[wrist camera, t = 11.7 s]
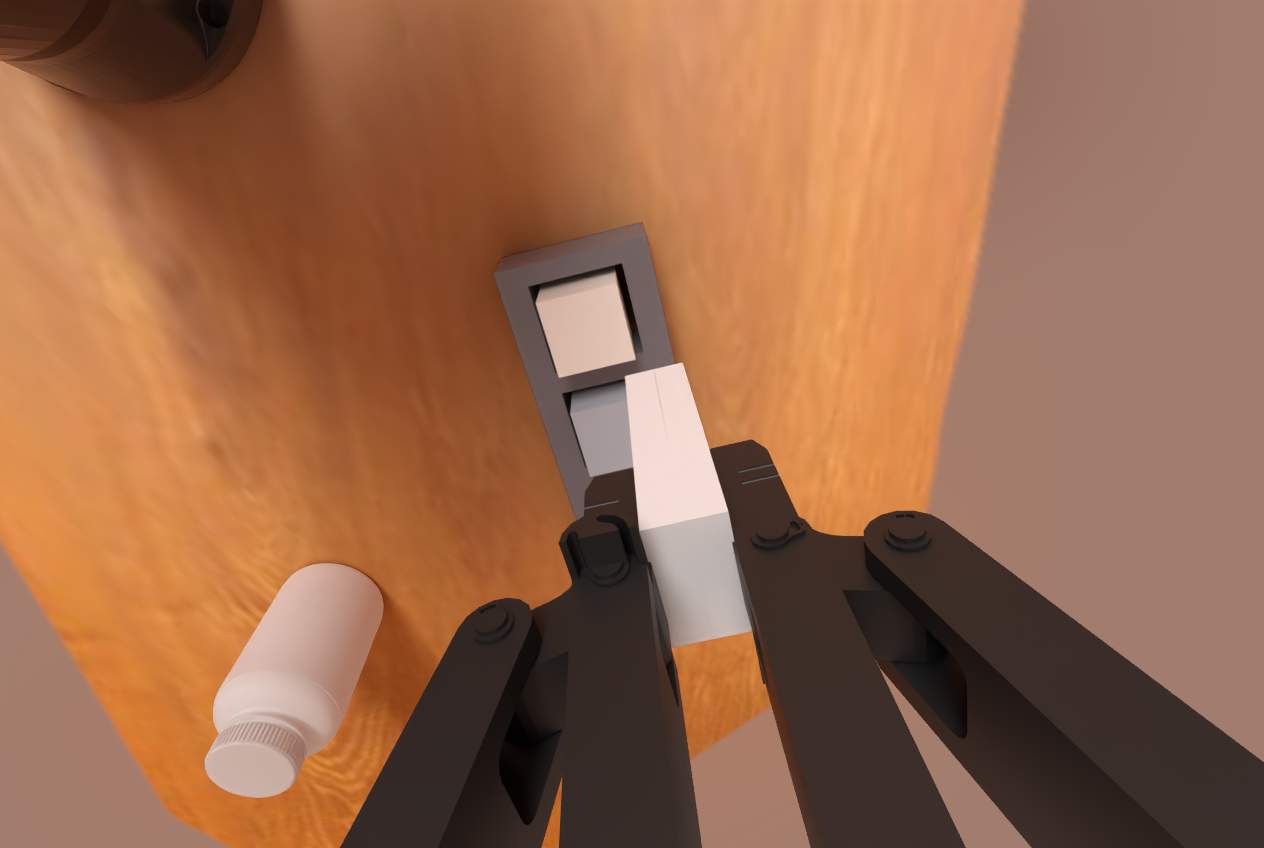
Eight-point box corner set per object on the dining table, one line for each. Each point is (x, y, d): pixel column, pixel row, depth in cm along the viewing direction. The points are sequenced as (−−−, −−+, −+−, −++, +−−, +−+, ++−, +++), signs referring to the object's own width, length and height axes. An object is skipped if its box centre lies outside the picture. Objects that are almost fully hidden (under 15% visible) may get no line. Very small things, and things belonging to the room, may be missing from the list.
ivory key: (562, 350, 42) (558, 378, 38) (541, 281, 40) (535, 303, 36) (632, 333, 42) (635, 359, 38) (614, 263, 40) (616, 283, 36)
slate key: (590, 442, 46) (590, 476, 42) (572, 383, 43) (570, 413, 39) (655, 427, 45) (661, 460, 41) (640, 367, 43) (644, 396, 39)
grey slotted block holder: (592, 534, 51) (592, 567, 47) (501, 257, 41) (492, 273, 38) (705, 508, 50) (714, 540, 47) (642, 222, 40) (646, 235, 37)
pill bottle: (368, 647, 55) (295, 825, 42) (271, 615, 53) (163, 791, 40) (401, 581, 52) (334, 750, 39) (300, 544, 50) (193, 709, 37)
